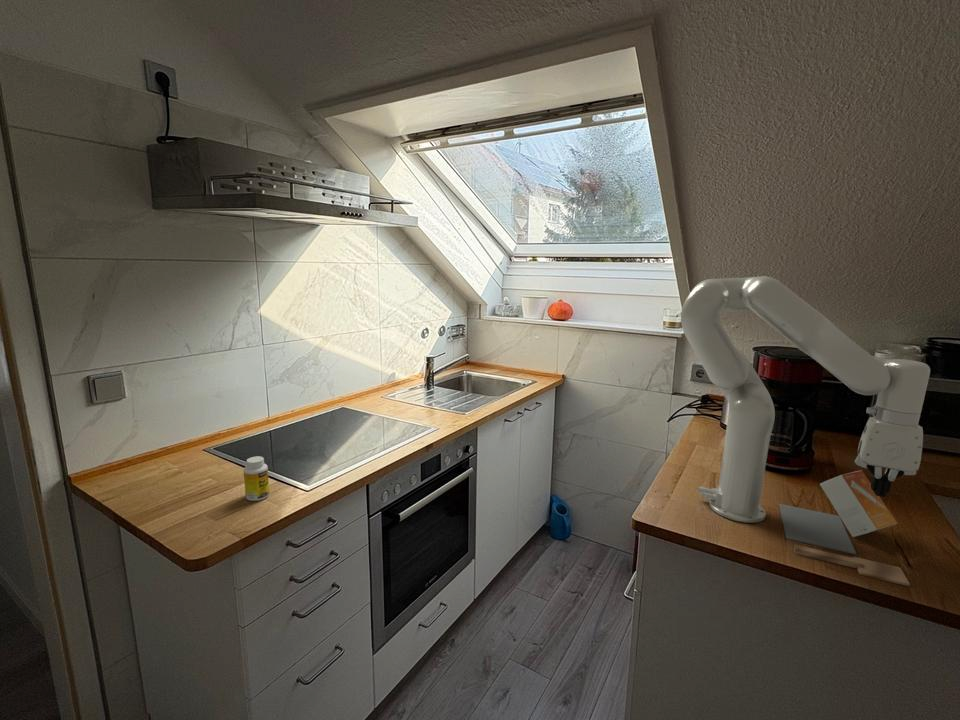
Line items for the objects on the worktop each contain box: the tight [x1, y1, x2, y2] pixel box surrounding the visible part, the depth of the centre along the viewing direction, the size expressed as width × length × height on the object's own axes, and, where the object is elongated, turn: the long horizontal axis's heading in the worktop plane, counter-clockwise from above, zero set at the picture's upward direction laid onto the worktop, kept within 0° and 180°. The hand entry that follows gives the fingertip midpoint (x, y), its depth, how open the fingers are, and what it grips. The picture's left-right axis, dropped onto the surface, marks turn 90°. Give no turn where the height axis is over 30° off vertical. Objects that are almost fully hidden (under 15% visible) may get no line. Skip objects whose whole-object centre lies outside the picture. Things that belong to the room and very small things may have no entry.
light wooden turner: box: [793, 544, 911, 587], centre depth 102 cm, size 19×6×1 cm, turn 64°
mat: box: [778, 503, 857, 556], centre depth 116 cm, size 13×18×1 cm
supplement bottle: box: [243, 455, 270, 502], centre depth 123 cm, size 6×6×10 cm
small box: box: [819, 469, 898, 538], centre depth 115 cm, size 8×6×13 cm
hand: (878, 493), depth 110 cm, fingers closed
